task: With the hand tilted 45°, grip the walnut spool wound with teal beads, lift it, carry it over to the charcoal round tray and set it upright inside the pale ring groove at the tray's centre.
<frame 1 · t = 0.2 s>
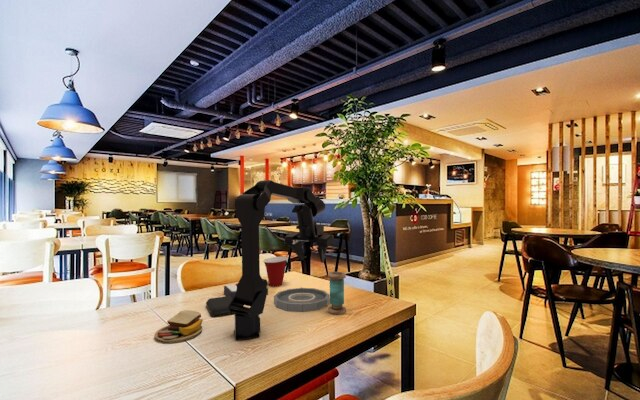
hand: (312, 261, 119), 15 cm above the table, tool tilted 15°, fingers open, 9 cm apart
bead spool: (337, 311, 109), on the table
round tray: (301, 302, 120), on the table
plastic cup: (275, 285, 144), on the table
calculator: (245, 295, 130), on the table
carrying case or bag: (224, 310, 113), on the table
toy sandwich meal: (179, 334, 93), on the table
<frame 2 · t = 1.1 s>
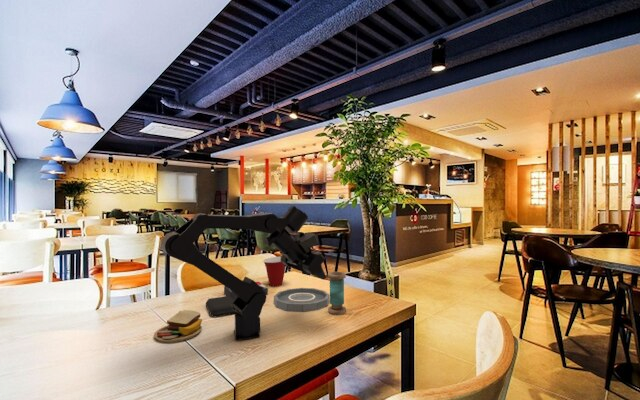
hand: (316, 275, 105), 13 cm above the table, tool tilted 45°, fingers open, 9 cm apart
nothing on the table moved.
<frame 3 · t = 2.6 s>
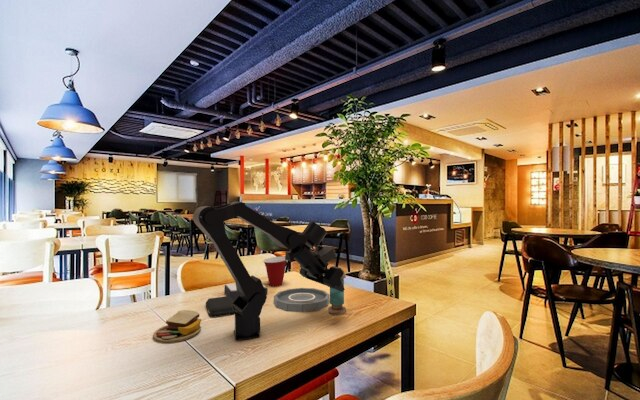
hand: (335, 287, 109), 8 cm above the table, tool tilted 45°, fingers open, 9 cm apart
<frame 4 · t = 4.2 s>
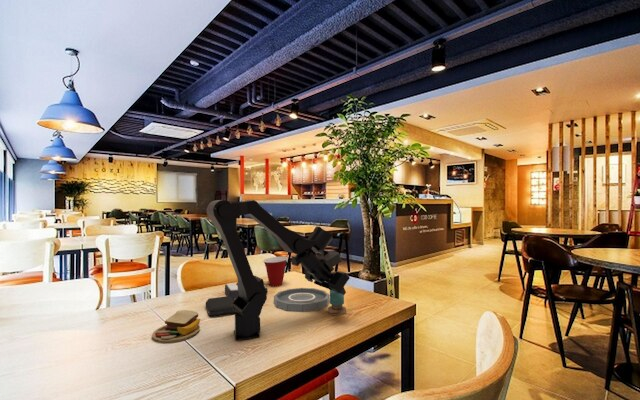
hand: (340, 291, 110), 7 cm above the table, tool tilted 45°, fingers closed on bead spool, 5 cm apart
bead spool: (337, 311, 109), on the table, touching gripper
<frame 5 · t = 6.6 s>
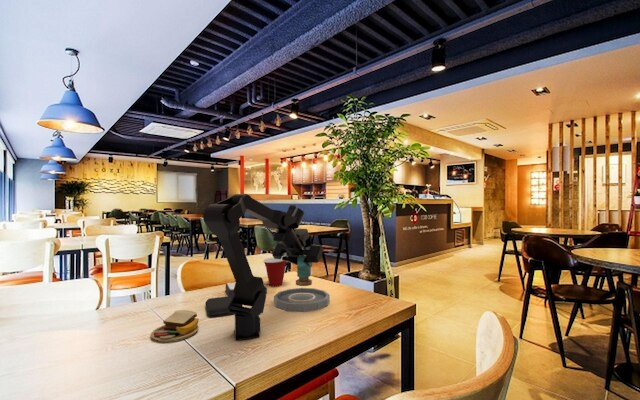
hand: (305, 265, 121), 13 cm above the table, tool tilted 45°, fingers closed on bead spool, 5 cm apart
bead spool: (303, 283, 119), point 7 cm above the table, touching gripper
when the fingers open (9 cm above the table, at t = 8.8 s): bead spool drops 1 cm, resting on round tray.
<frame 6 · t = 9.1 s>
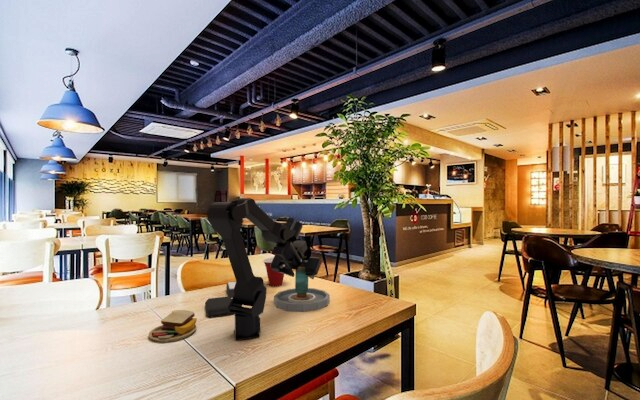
hand: (303, 277, 121), 9 cm above the table, tool tilted 45°, fingers open, 8 cm apart
bead spool: (301, 299, 120), point 1 cm above the table, touching round tray
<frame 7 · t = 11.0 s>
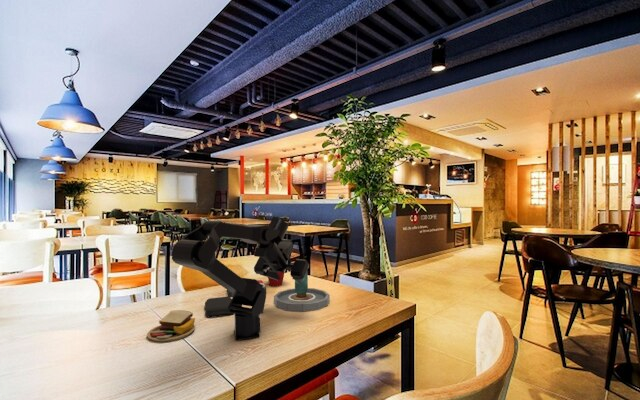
hand: (290, 280, 112), 10 cm above the table, tool tilted 45°, fingers open, 9 cm apart
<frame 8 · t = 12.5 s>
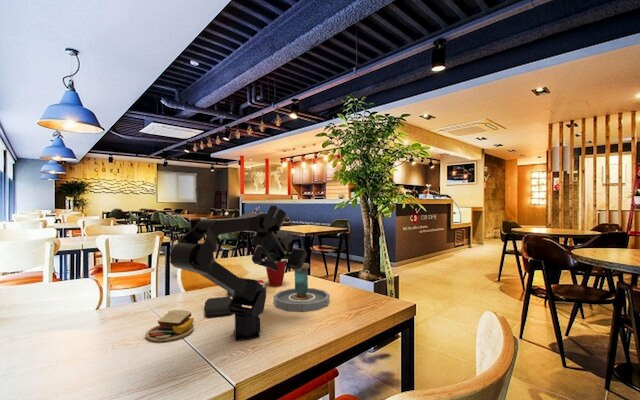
hand: (288, 270, 111), 14 cm above the table, tool tilted 45°, fingers open, 9 cm apart
at the end: bead spool 0.1 cm off-centre on the round tray, point 1.0 cm above the round tray's base; bead spool tilted 1°; the gripper is holding nothing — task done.
